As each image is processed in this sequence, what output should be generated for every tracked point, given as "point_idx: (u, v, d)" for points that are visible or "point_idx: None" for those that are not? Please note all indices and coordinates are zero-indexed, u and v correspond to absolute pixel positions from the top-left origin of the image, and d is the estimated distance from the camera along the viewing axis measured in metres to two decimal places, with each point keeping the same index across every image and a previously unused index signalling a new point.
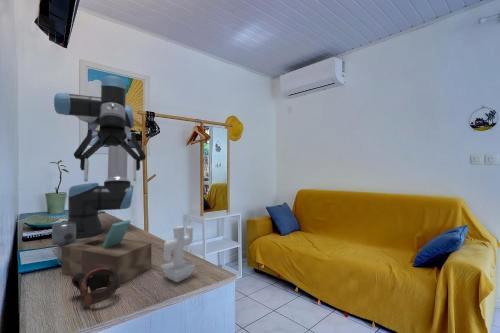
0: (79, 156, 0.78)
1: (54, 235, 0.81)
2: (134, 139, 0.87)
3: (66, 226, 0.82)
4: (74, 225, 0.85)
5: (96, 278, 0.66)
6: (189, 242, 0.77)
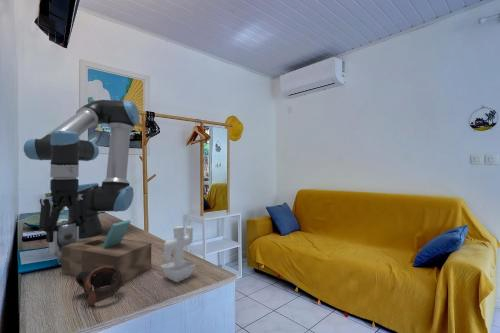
0: (48, 230, 0.79)
1: None
2: (83, 202, 0.89)
3: (66, 226, 0.82)
4: (74, 225, 0.85)
5: (99, 276, 0.67)
6: (189, 242, 0.77)
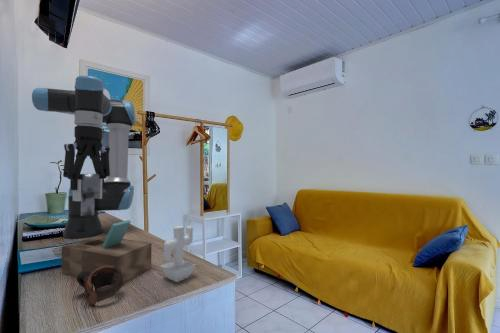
0: (72, 176, 0.76)
1: None
2: (107, 155, 0.86)
3: (90, 175, 0.79)
4: (98, 175, 0.81)
5: (100, 276, 0.67)
6: (189, 242, 0.77)
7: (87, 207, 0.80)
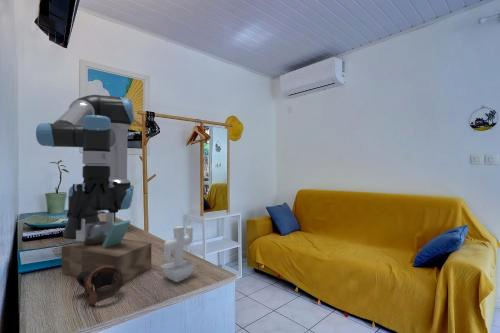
0: (76, 217, 0.74)
1: (87, 235, 0.78)
2: (115, 189, 0.86)
3: (99, 226, 0.79)
4: (106, 225, 0.81)
5: (100, 276, 0.67)
6: (189, 242, 0.77)
7: None
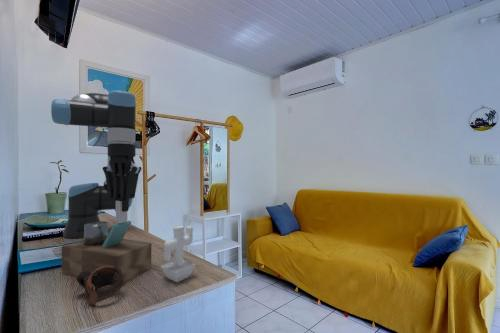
0: None
1: (87, 235, 0.78)
2: None
3: (99, 226, 0.79)
4: (106, 225, 0.81)
5: (100, 276, 0.67)
6: (189, 242, 0.77)
7: None
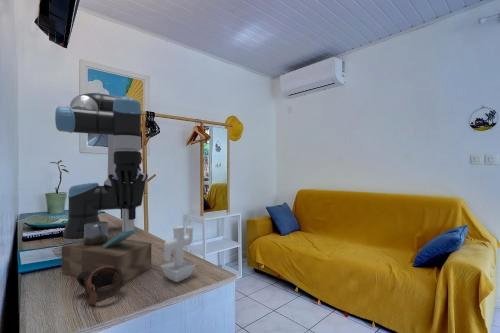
0: None
1: (87, 235, 0.78)
2: None
3: (99, 226, 0.79)
4: (106, 225, 0.81)
5: (100, 276, 0.67)
6: (189, 242, 0.77)
7: None
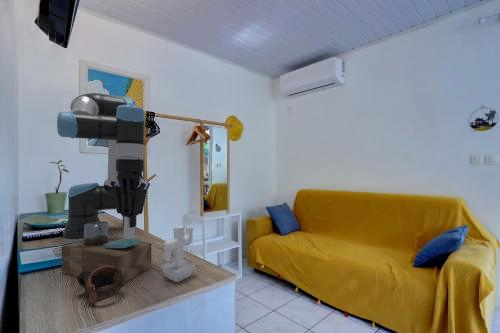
0: None
1: (87, 235, 0.78)
2: None
3: (99, 226, 0.79)
4: (106, 225, 0.81)
5: (101, 276, 0.67)
6: (189, 242, 0.77)
7: None
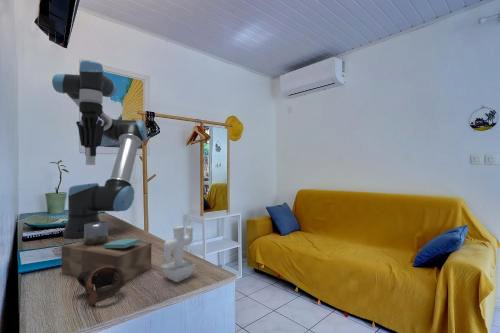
0: None
1: (87, 235, 0.78)
2: None
3: (99, 226, 0.79)
4: (106, 225, 0.81)
5: (101, 276, 0.67)
6: (189, 242, 0.77)
7: None
